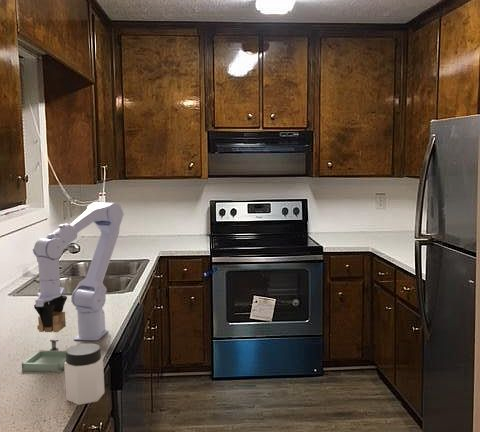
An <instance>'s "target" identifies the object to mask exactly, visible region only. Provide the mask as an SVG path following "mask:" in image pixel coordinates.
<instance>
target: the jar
mask: <svg viewBox="0 0 480 432" xmlns="http://www.w3.org/2000/svg"><path fill="white" fill-rule="evenodd" d="M101 349H102V347H101V346H100V344H97V343H90V342H89V343H79V344H75V345H72V346H69V347H68V348H67V349H65V351H66V362H65V363H64V367H65V368H64V378H65V379H64V381H65V382H64V383H65V397H66V398H65V399H66V401H67V400H69V401H68V402H70V401H71V402H70V403H72V402H73V404H75V405H77V406H81V405H86V404H91V403H96V402H99V400H100V399H101V398H102V397H103V395H104V394H105V376H104V373H105V372H104V356H102V350H101Z"/></svg>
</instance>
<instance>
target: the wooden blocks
mask: <svg viewBox="0 0 480 432" xmlns="http://www.w3.org/2000/svg"><path fill="white" fill-rule="evenodd" d="M37 319H38V324H37V325H36V326H37V330H38V332H39V333H59V332H60V331H62V330H63V329H64V328H66V326H67V325H66V311H62V312H60V313H59V312H53V314H52V326H51V327H50V328H46V327H43V324H42V321H41V318H40V316H39V315H38V316H37Z"/></svg>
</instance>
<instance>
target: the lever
mask: <svg viewBox="0 0 480 432" xmlns="http://www.w3.org/2000/svg"><path fill="white" fill-rule="evenodd" d="M49 342H51V348H50V349H49V351H59V348H58V347H57V342H59V339H50V340H49Z"/></svg>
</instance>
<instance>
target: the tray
mask: <svg viewBox="0 0 480 432" xmlns="http://www.w3.org/2000/svg"><path fill="white" fill-rule="evenodd" d="M65 362H66V350H58V351H50V349H49V350H45V349H41V350H38V351H37V352H35V353H34V354H32V355H31V356H30V357H28V358H27V359H25V361H22V363H21V371H23V372H24V371H25V372H49V371H51V373H53V372H55V371H61V372H62V371H63V370H65V367H64V363H65ZM52 371H53V372H52ZM55 373H56V372H55Z"/></svg>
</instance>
